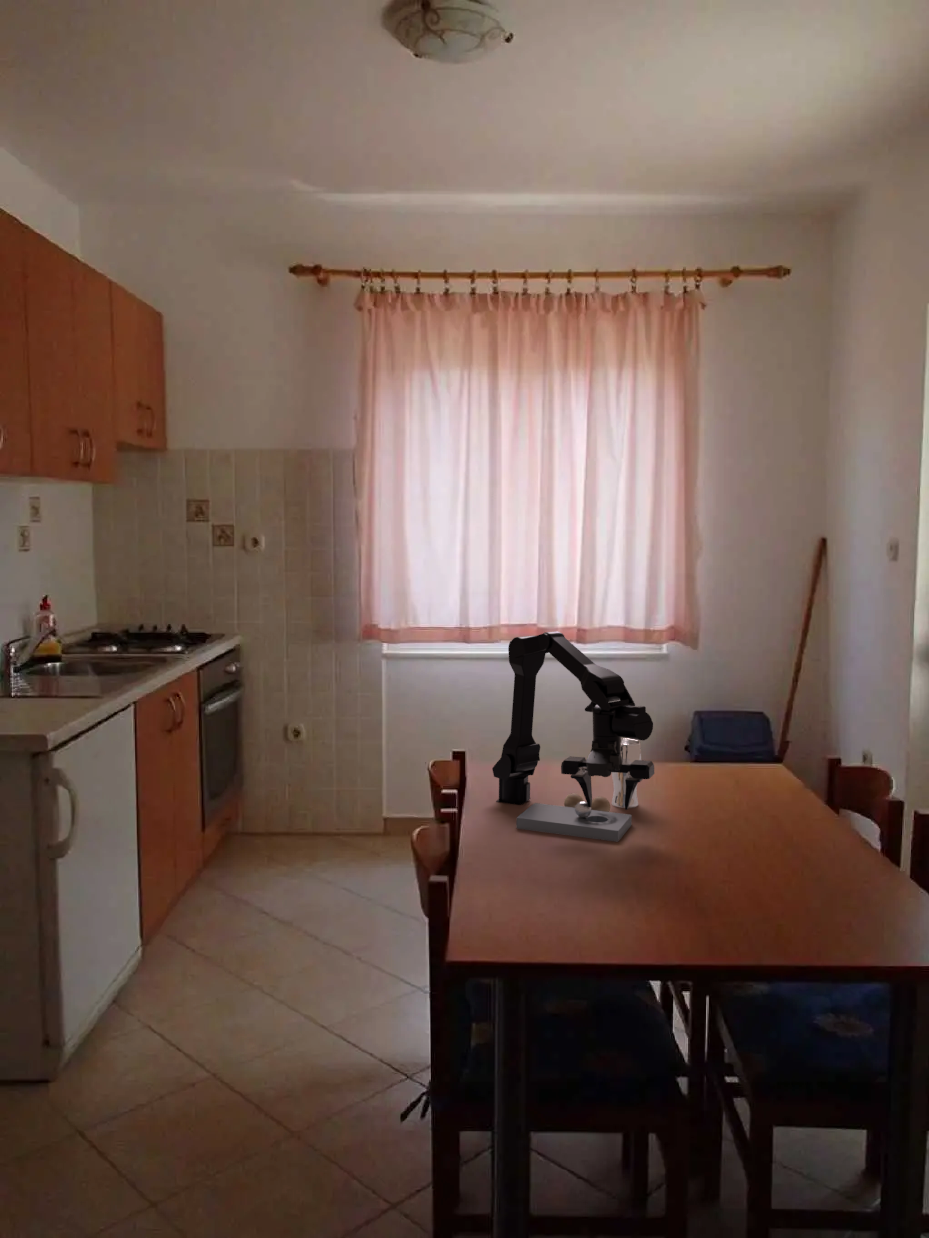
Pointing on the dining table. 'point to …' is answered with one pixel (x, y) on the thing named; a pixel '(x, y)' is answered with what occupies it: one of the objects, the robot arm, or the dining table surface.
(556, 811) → the plate
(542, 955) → the dining table surface
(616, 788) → the beer glass
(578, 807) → the steel ball
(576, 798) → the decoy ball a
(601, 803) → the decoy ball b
